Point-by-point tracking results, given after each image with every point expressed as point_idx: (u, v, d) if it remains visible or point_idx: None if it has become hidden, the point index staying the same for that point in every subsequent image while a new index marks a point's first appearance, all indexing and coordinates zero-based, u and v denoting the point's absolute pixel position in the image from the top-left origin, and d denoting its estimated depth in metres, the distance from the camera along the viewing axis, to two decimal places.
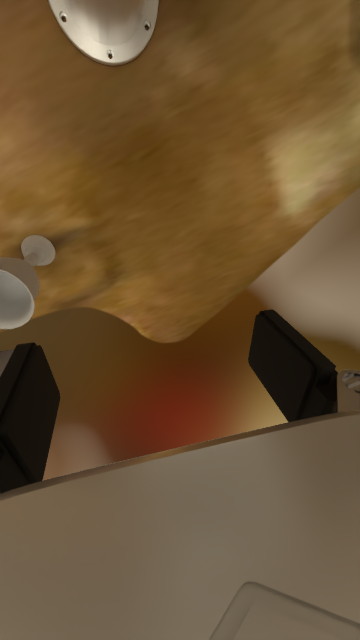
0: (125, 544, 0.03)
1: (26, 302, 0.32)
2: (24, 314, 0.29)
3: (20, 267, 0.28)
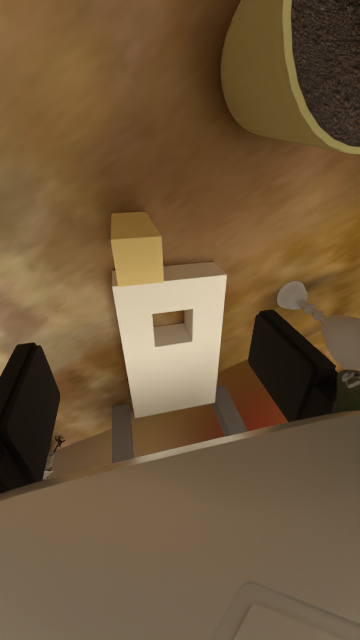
0: (125, 544, 0.03)
1: None
2: None
3: None
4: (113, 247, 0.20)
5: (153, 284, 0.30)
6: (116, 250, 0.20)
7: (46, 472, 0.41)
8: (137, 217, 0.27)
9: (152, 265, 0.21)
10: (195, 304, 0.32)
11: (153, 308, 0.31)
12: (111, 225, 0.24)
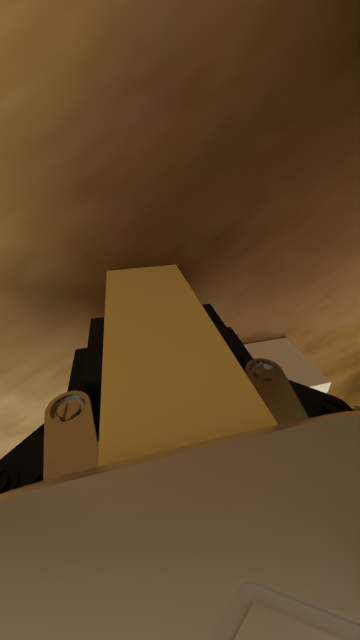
0: (125, 544, 0.03)
1: None
2: None
3: None
4: None
5: None
6: None
7: None
8: (165, 291, 0.12)
9: None
10: None
11: None
12: (104, 340, 0.09)
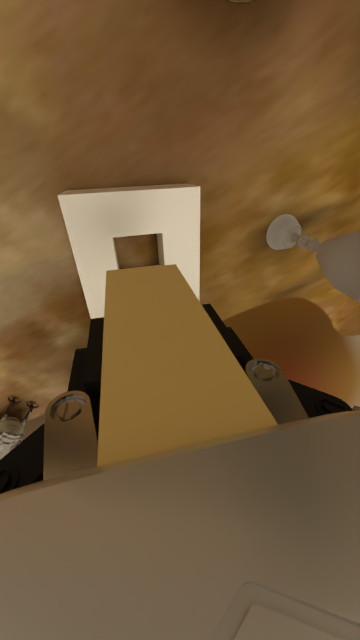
0: (125, 544, 0.03)
1: None
2: None
3: None
4: None
5: (109, 195, 0.24)
6: None
7: (11, 437, 0.36)
8: (165, 290, 0.12)
9: None
10: (164, 226, 0.27)
11: (113, 229, 0.26)
12: (104, 340, 0.09)
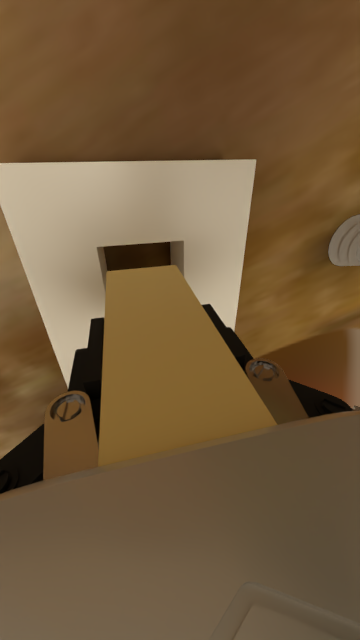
0: (125, 544, 0.03)
1: None
2: None
3: None
4: None
5: (90, 168, 0.13)
6: None
7: None
8: (165, 291, 0.12)
9: None
10: (188, 230, 0.16)
11: (98, 233, 0.15)
12: (104, 341, 0.09)
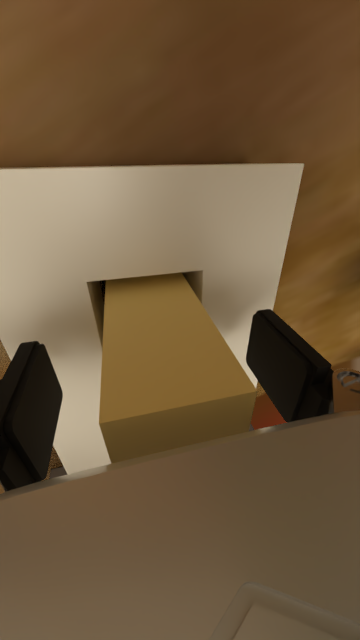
0: (125, 544, 0.03)
1: None
2: None
3: None
4: (109, 437, 0.06)
5: (76, 176, 0.09)
6: (118, 441, 0.06)
7: None
8: None
9: None
10: (210, 257, 0.12)
11: (88, 264, 0.11)
12: (105, 311, 0.10)
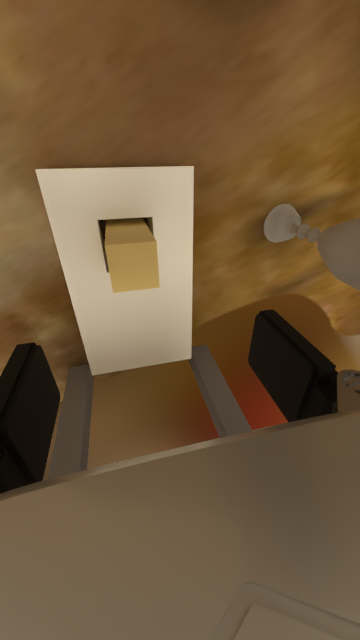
0: (125, 544, 0.03)
1: None
2: None
3: None
4: (107, 253, 0.19)
5: (94, 171, 0.22)
6: (110, 255, 0.19)
7: None
8: (132, 221, 0.27)
9: (148, 270, 0.21)
10: (155, 210, 0.25)
11: (98, 211, 0.24)
12: (105, 230, 0.23)
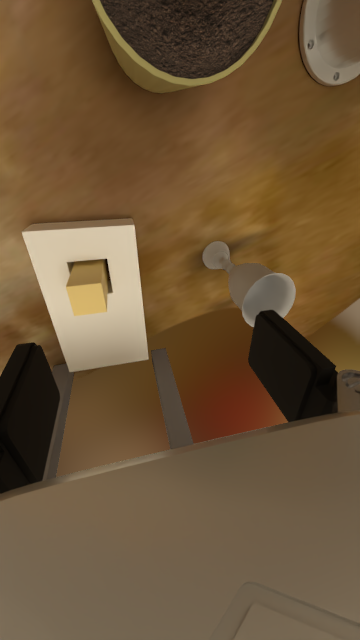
0: (125, 544, 0.03)
1: (250, 303, 0.35)
2: None
3: None
4: (68, 291, 0.29)
5: (62, 231, 0.32)
6: (70, 293, 0.30)
7: None
8: (94, 260, 0.37)
9: (97, 301, 0.31)
10: (108, 254, 0.35)
11: (67, 256, 0.34)
12: None
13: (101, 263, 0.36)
